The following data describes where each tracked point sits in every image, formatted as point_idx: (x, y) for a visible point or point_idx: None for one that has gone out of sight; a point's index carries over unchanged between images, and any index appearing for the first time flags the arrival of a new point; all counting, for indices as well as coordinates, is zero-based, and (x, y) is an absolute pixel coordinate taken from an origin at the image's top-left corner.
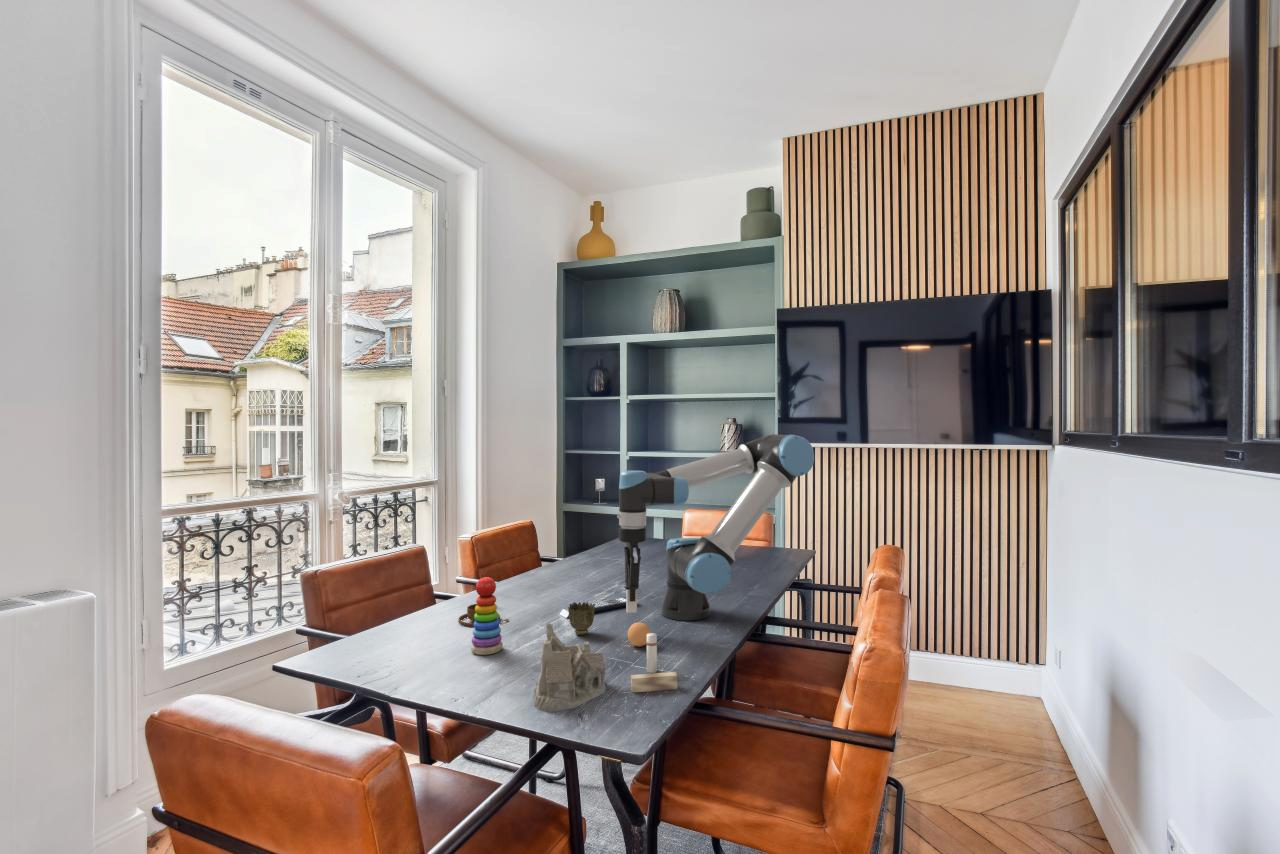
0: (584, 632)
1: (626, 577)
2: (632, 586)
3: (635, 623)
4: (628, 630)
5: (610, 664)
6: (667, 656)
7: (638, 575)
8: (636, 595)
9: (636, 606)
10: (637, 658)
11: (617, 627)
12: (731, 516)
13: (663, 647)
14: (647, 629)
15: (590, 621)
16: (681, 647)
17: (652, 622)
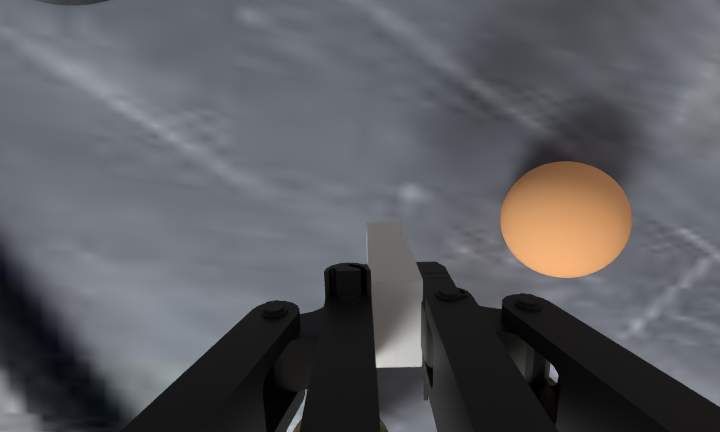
0: None
1: (288, 423)
2: (546, 367)
3: (587, 254)
4: (563, 277)
5: (696, 337)
6: (700, 103)
7: (699, 406)
8: (414, 262)
9: (404, 234)
10: (675, 233)
11: (274, 266)
12: None
13: (586, 99)
14: (618, 187)
15: (380, 428)
16: (613, 8)
17: (212, 86)
